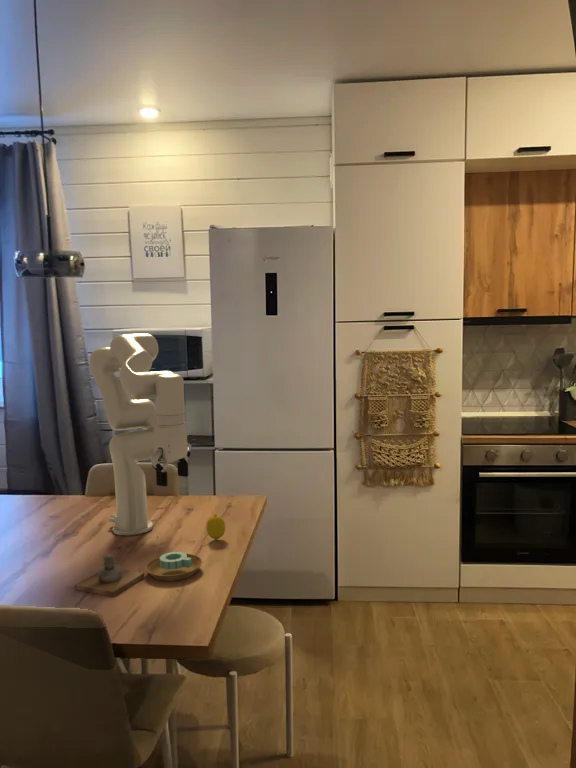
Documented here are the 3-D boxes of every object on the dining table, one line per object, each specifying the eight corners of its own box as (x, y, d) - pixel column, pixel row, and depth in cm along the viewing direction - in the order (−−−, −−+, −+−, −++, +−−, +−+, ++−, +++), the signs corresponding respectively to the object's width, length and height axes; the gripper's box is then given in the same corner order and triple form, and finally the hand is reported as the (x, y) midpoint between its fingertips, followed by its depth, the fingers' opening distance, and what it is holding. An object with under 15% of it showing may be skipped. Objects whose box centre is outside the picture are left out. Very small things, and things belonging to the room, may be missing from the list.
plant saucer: (176, 589, 150) (175, 579, 150) (133, 578, 158) (133, 568, 158) (213, 568, 163) (213, 559, 163) (172, 558, 171) (172, 549, 170)
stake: (75, 589, 152) (73, 562, 151) (107, 571, 162) (105, 545, 162) (113, 596, 147) (111, 568, 146) (144, 577, 158) (142, 551, 157)
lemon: (222, 543, 180) (221, 517, 179) (204, 543, 181) (203, 517, 180) (228, 537, 185) (226, 511, 185) (210, 536, 187) (209, 511, 186)
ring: (154, 567, 158) (154, 559, 158) (170, 557, 165) (169, 550, 164) (182, 571, 155) (182, 564, 154) (197, 561, 161) (197, 554, 161)
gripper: (177, 413, 174) (179, 471, 177) (139, 424, 159) (141, 487, 161) (200, 415, 171) (201, 474, 174) (162, 426, 156) (165, 491, 158)
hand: (172, 480), depth 167 cm, fingers open, 9 cm apart
